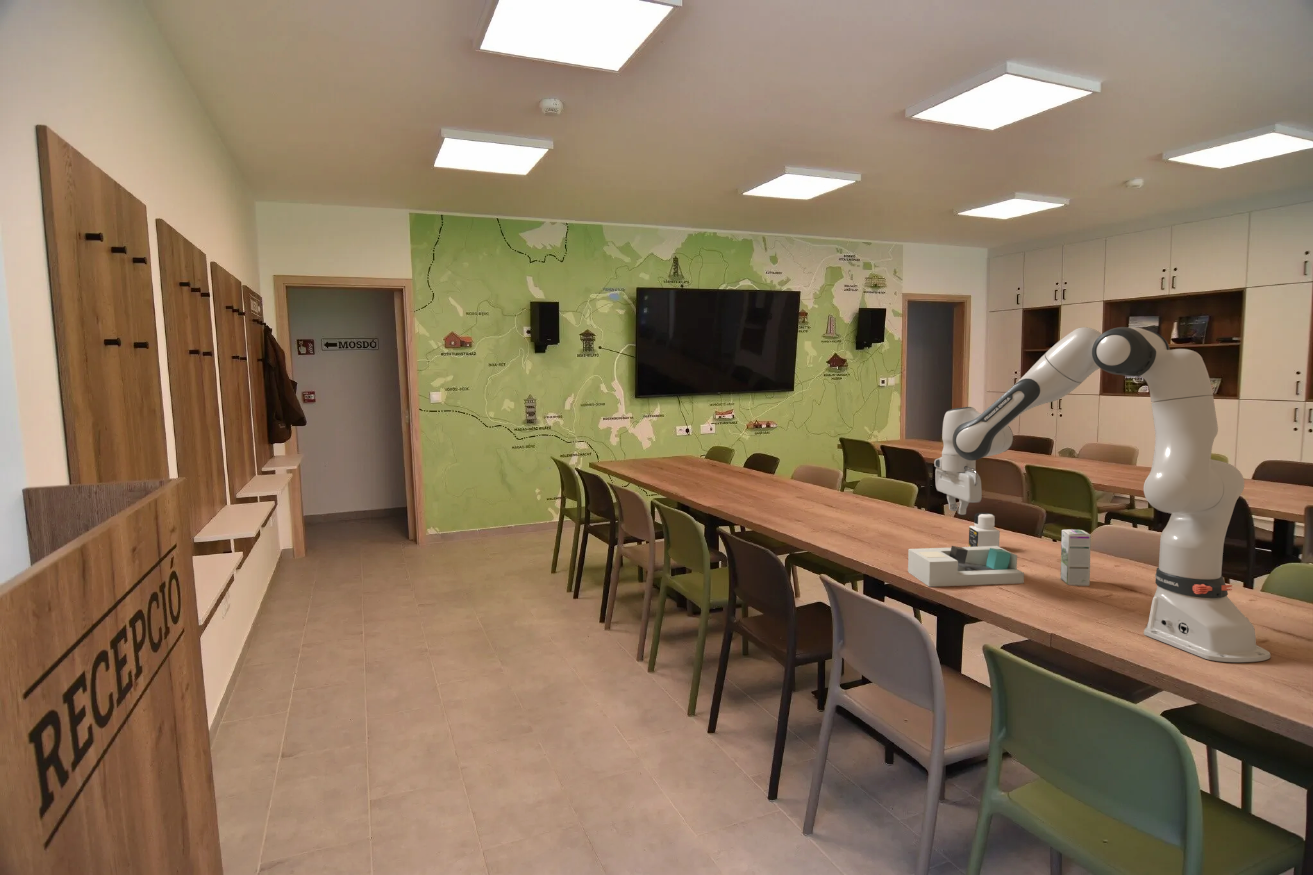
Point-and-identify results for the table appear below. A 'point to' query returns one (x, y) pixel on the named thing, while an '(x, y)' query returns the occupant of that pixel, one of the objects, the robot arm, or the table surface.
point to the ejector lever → (960, 556)
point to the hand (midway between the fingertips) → (957, 512)
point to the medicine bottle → (983, 531)
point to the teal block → (998, 559)
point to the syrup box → (1075, 557)
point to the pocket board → (959, 568)
